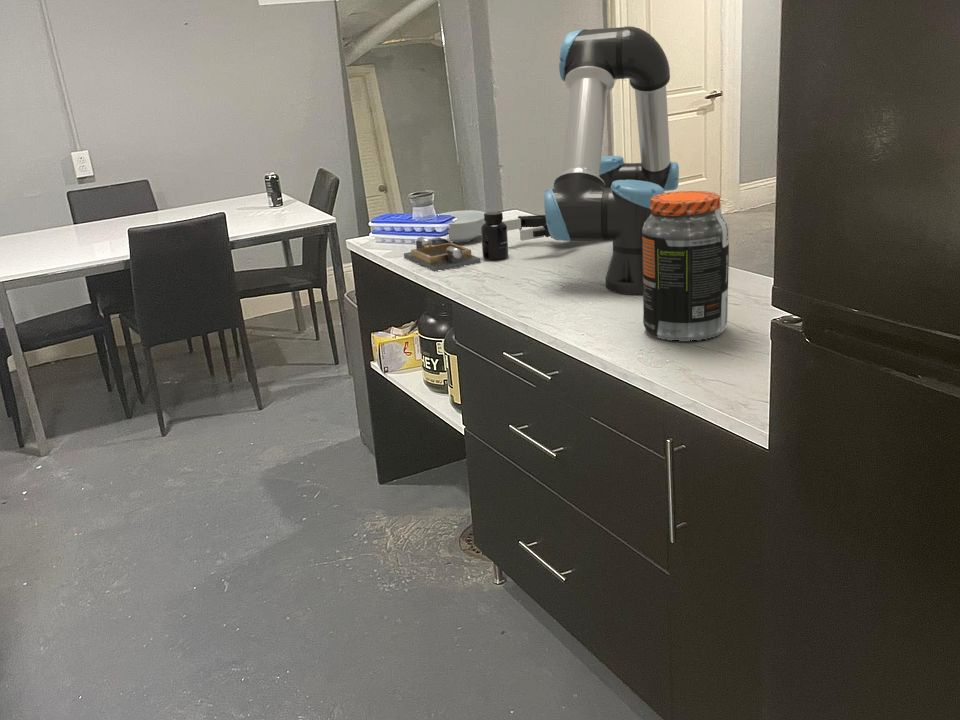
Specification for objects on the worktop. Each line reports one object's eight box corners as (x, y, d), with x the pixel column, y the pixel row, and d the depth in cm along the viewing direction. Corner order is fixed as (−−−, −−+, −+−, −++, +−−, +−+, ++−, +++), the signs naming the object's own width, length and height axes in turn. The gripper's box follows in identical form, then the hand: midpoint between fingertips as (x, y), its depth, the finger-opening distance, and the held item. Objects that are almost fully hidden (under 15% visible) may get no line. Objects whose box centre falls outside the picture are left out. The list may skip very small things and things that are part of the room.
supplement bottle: (508, 260, 235) (506, 214, 231) (482, 262, 235) (479, 216, 231) (508, 254, 241) (505, 209, 237) (483, 255, 241) (480, 211, 237)
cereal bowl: (422, 239, 266) (420, 215, 263) (473, 231, 272) (472, 207, 270) (445, 250, 251) (443, 225, 249) (498, 240, 257) (497, 216, 255)
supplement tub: (742, 325, 173) (746, 191, 165) (701, 349, 163) (703, 207, 154) (669, 313, 184) (669, 186, 175) (626, 335, 173) (624, 201, 164)
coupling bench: (481, 263, 234) (480, 244, 232) (436, 272, 229) (434, 253, 227) (446, 249, 251) (445, 232, 250) (403, 257, 246) (402, 240, 244)
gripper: (603, 241, 236) (531, 253, 229) (558, 225, 258) (491, 236, 250) (603, 212, 233) (529, 224, 226) (557, 199, 255) (489, 210, 248)
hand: (509, 231), depth 238 cm, fingers open, 13 cm apart
